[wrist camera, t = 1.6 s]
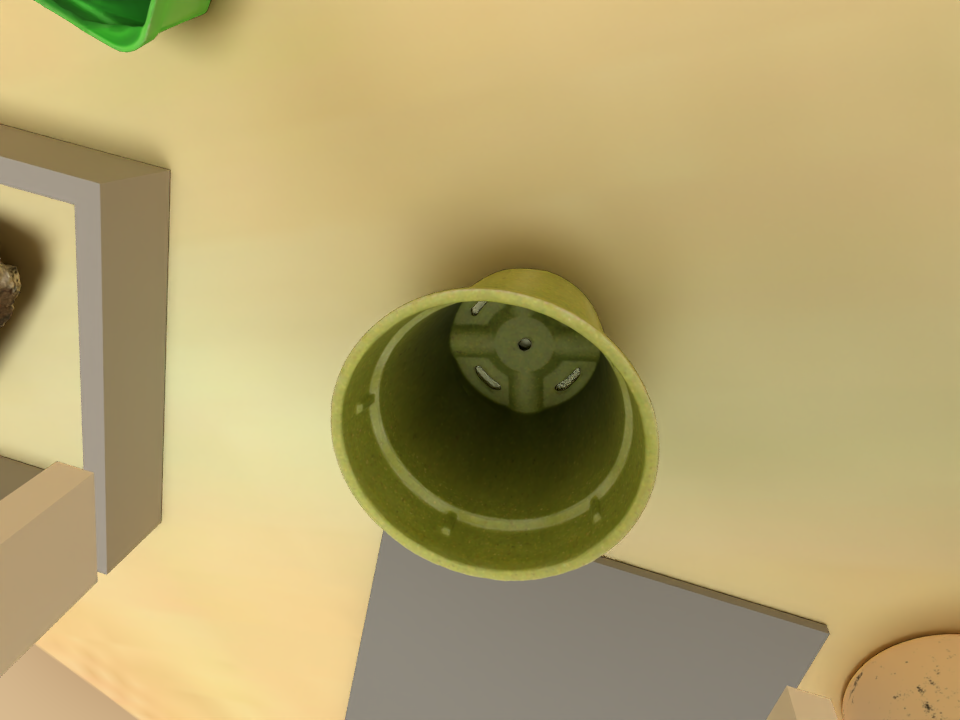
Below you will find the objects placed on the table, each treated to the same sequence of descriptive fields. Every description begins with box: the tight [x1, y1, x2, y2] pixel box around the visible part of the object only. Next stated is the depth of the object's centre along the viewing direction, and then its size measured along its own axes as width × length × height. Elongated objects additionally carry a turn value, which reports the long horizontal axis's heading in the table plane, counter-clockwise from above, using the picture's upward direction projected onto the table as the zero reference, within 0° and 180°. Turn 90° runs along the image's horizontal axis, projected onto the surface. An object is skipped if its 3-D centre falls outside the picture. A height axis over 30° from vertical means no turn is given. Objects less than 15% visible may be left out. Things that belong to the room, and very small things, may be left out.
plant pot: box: [331, 268, 659, 581], centre depth 23 cm, size 9×9×9 cm
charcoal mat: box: [345, 530, 830, 720], centre depth 34 cm, size 20×20×1 cm
